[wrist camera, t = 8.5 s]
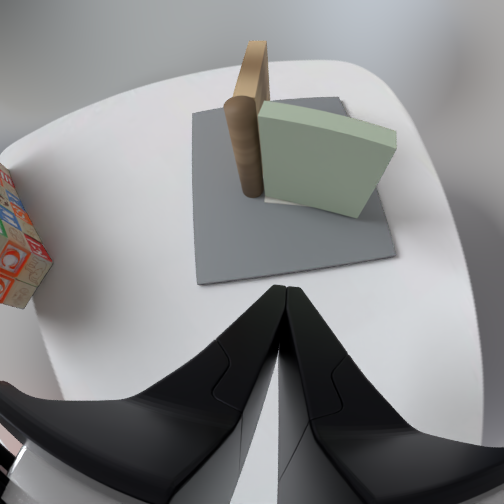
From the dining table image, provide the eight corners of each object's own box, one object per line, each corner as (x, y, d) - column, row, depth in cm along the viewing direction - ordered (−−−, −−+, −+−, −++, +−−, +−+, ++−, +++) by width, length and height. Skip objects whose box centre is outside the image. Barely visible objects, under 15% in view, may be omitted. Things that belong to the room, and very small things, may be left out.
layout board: (394, 256, 18) (396, 254, 18) (198, 284, 19) (196, 283, 19) (337, 99, 23) (338, 96, 23) (193, 116, 24) (192, 112, 24)
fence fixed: (262, 198, 20) (253, 116, 12) (240, 197, 20) (220, 116, 12) (272, 115, 23) (269, 36, 15) (255, 114, 23) (245, 36, 15)
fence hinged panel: (265, 196, 20) (257, 116, 12) (269, 182, 20) (264, 100, 13) (357, 218, 19) (396, 148, 11) (359, 204, 19) (396, 131, 11)
